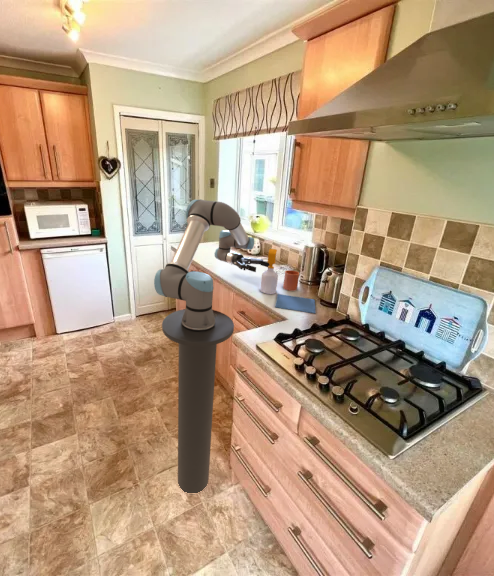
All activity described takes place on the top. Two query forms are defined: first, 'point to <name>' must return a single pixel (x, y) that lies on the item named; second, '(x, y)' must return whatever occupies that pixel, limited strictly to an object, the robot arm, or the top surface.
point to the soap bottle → (269, 275)
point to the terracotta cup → (291, 280)
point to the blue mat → (295, 303)
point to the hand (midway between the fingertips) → (263, 267)
